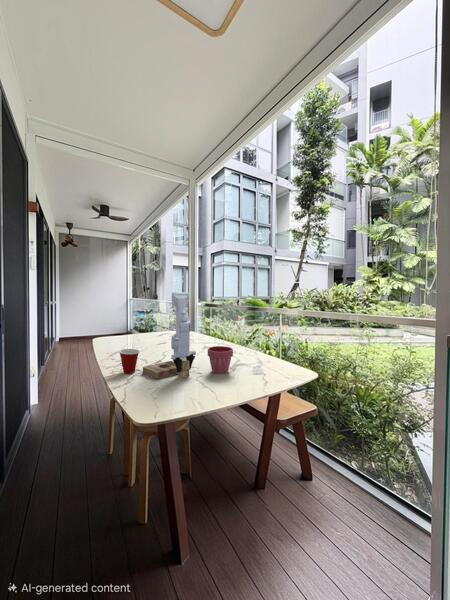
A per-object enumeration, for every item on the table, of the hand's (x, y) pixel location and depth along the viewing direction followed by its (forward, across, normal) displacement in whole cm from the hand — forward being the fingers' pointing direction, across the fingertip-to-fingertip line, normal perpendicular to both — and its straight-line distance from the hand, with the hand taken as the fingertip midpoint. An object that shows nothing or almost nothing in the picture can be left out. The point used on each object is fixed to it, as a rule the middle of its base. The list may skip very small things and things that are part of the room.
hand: (183, 370), depth 138 cm
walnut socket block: (+3, -4, +12) cm, 13 cm away
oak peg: (+3, 0, 0) cm, 3 cm away
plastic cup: (+3, -17, +26) cm, 31 cm away
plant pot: (+3, +19, -8) cm, 21 cm away
